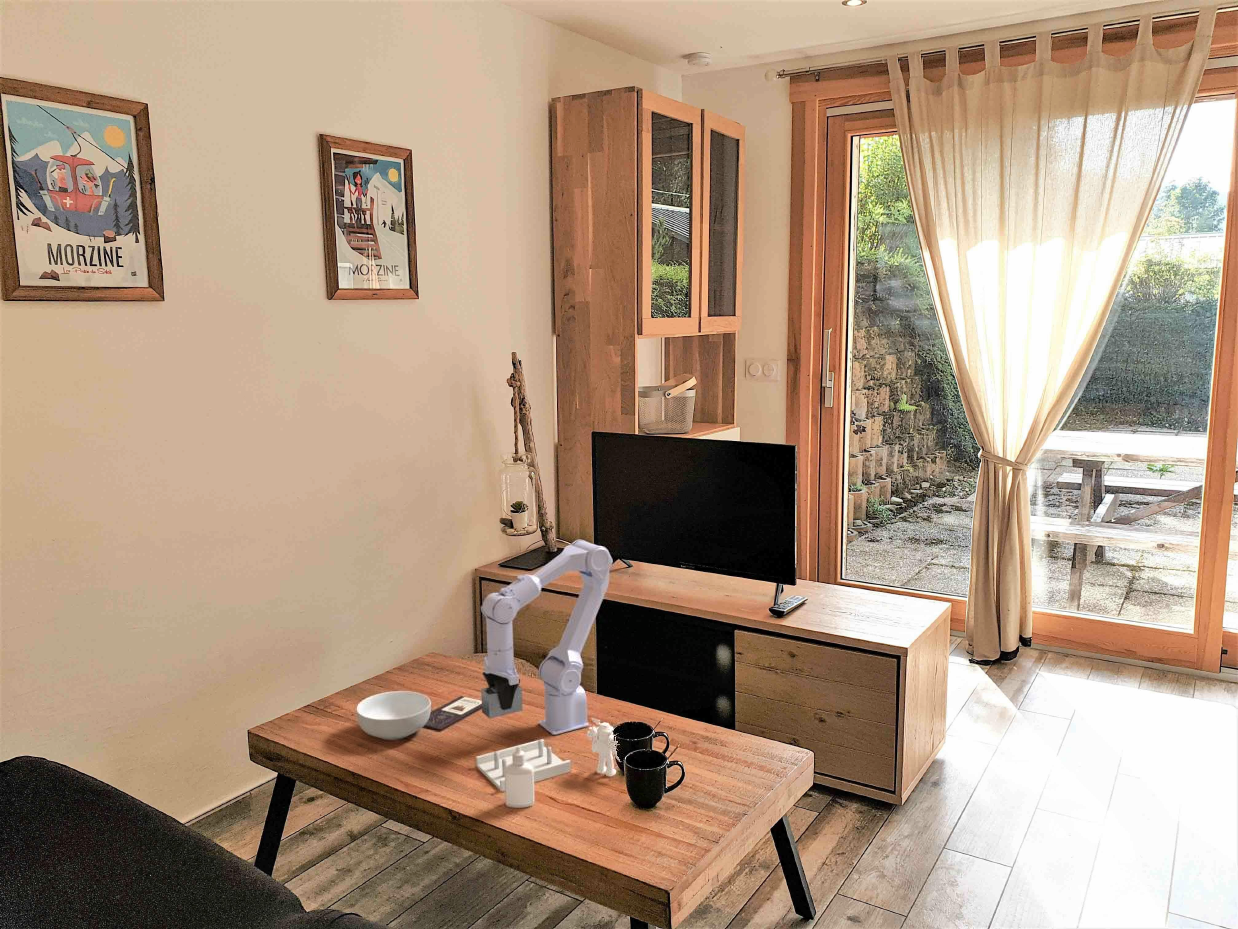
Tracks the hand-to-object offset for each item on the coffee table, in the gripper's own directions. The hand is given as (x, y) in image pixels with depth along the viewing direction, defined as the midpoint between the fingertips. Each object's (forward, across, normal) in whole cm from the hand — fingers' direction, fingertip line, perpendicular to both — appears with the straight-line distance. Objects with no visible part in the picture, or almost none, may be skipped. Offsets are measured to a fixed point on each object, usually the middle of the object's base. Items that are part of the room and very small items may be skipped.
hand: (502, 705), depth 214 cm
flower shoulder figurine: (+9, +25, +12) cm, 29 cm away
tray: (+9, +14, -2) cm, 17 cm away
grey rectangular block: (+2, 0, 0) cm, 2 cm away
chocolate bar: (+10, -22, -4) cm, 24 cm away
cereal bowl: (+9, -19, -19) cm, 28 cm away
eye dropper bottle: (+9, +27, -9) cm, 30 cm away
